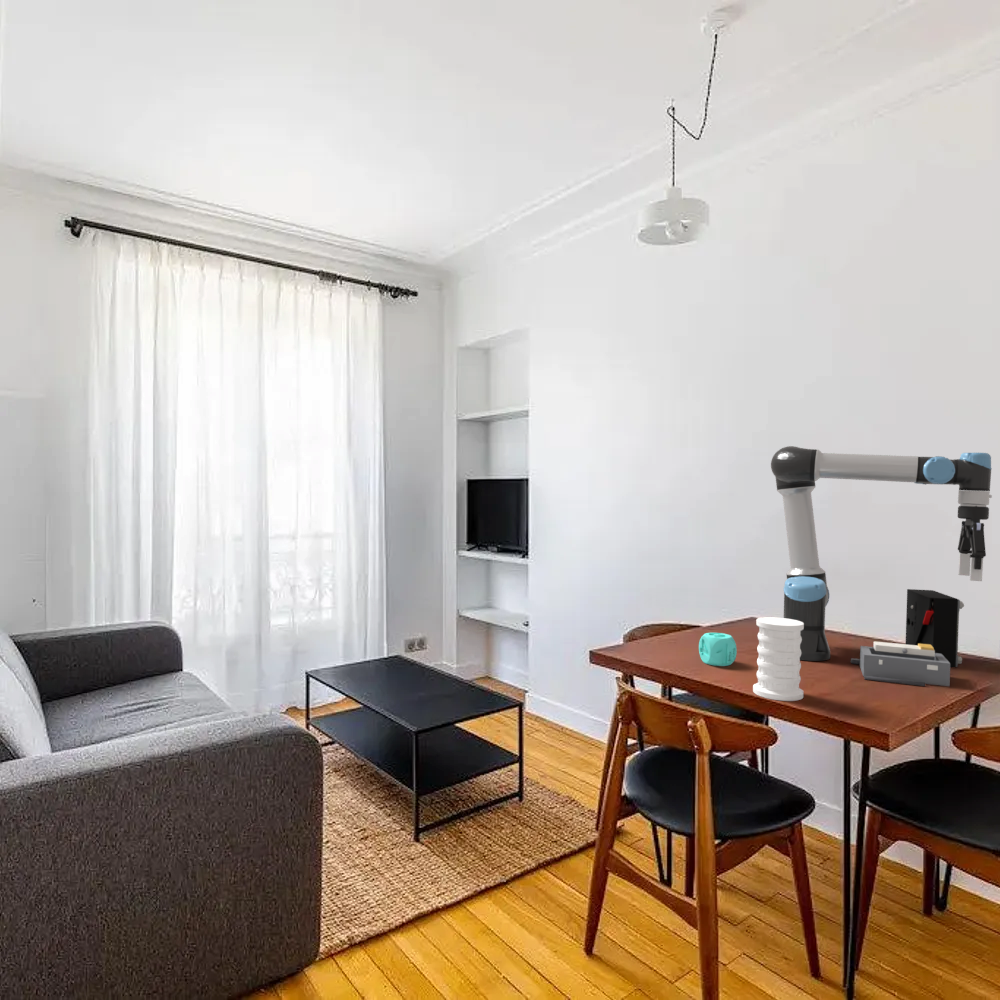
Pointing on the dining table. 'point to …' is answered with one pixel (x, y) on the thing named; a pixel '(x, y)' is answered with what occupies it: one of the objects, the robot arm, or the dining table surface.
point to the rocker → (905, 648)
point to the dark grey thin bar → (894, 680)
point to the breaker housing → (905, 666)
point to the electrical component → (934, 622)
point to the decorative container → (779, 659)
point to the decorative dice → (717, 649)
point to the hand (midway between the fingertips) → (969, 578)
